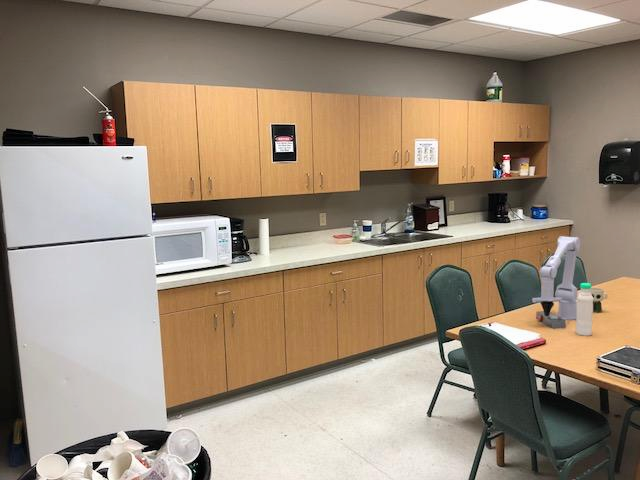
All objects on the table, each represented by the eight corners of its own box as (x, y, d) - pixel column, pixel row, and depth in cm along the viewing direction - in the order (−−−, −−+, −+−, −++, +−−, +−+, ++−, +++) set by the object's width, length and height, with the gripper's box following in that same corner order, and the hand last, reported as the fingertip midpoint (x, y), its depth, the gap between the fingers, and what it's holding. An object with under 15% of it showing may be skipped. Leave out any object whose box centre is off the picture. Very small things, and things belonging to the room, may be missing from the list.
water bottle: (585, 337, 247) (587, 285, 244) (572, 333, 253) (574, 283, 250) (595, 334, 250) (597, 284, 247) (581, 330, 256) (583, 281, 253)
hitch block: (549, 318, 279) (549, 309, 278) (565, 328, 261) (565, 318, 261) (536, 318, 279) (536, 309, 278) (551, 328, 261) (552, 318, 260)
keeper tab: (553, 314, 268) (547, 315, 268) (558, 317, 263) (551, 317, 263) (553, 316, 268) (547, 316, 268) (558, 318, 263) (551, 319, 263)
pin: (557, 319, 276) (557, 313, 275) (560, 321, 273) (560, 315, 272) (537, 320, 276) (537, 314, 275) (539, 321, 272) (539, 315, 272)
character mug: (583, 311, 290) (584, 289, 288) (585, 308, 296) (586, 286, 294) (605, 314, 284) (606, 291, 282) (607, 311, 289) (608, 288, 288)
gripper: (536, 291, 260) (536, 318, 261) (565, 291, 260) (564, 317, 262) (530, 288, 267) (530, 314, 268) (558, 288, 267) (557, 313, 269)
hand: (546, 315), depth 265 cm, fingers closed
